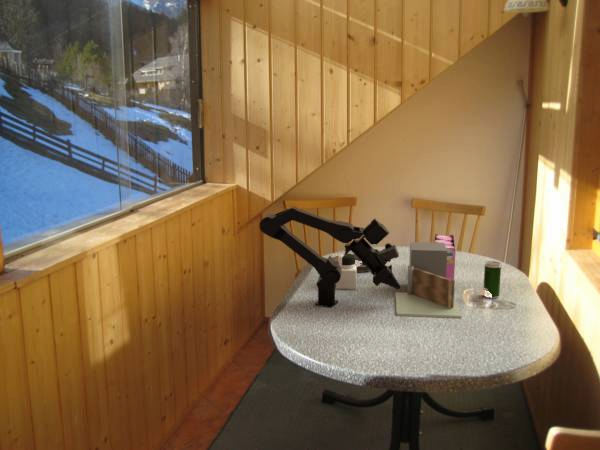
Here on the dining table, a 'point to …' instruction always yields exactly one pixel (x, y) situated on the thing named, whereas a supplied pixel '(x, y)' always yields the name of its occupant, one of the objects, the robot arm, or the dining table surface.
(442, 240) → the gum box
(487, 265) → the beer can
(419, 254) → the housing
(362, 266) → the plant saucer
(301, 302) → the dining table surface
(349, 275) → the medicine bottle
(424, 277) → the brown wooden flat panel
